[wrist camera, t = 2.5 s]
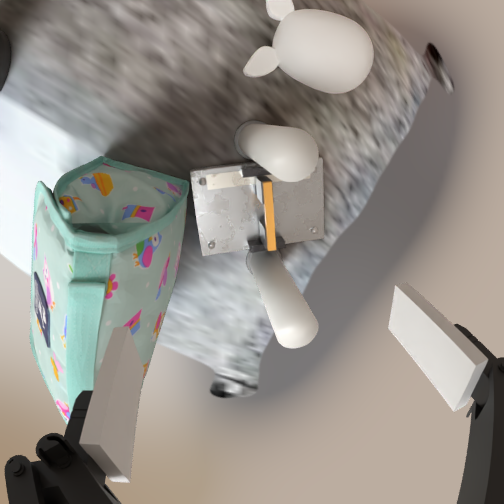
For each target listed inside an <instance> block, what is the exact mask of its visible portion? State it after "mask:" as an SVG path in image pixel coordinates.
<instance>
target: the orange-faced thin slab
mask: <svg viewBox="0 0 504 504" xmlns="http://www.w3.org/2000/svg"><path fill="white" fill-rule="evenodd" d="M255 178H256V190H257V198H258V199H259V200H260V202H261V203H262V204H264V212H265V219H264V220H259V226H260V239H261V241H262V243H263V245H264V247H265V249H268V251H273V250H276V248H277V247H276V230H275V223H274V207H273V203H274V199H273V184H272V180H271V179H269V178H268V177H267V176H258V177H255Z"/></svg>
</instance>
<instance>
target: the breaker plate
mask: <svg viewBox="0 0 504 504" xmlns="http://www.w3.org/2000/svg"><path fill="white" fill-rule="evenodd" d="M190 176H191V184H192V191H193V198H194V205H195V212H196V219H197V225H198V232H199V238H200V245H201V251H202V256H206V255H213V254H220V253H227V252H233V251H240V250H247V249H248V250H249V252H250V253H254V252H261V251H268V249H265V247H264V245H263V243H262V241H261V239H260V226H259V220H264V219H265V212H264V204H262V203H261V202H260V200H259V199H258V198H257V190H256V178H255V177H258V176H267V177H268V178H269V179H271V180H272V184H273V199H274V203H273V207H274V223H275V230H276V247H277V248H276V249H281V248H286V247H285V244H288V243H295V242H302V241H309V240H316V239H322V238H324V188H323V158H321V157H318V162H317V165H316V167H315V169H314V170H313V172H312V173H311V174H310V175H309V176H308V177H306V178H305V179H303V180H300V181H297V182H286V181H282V180H280V179H278V178H277V177H275V176H274V175H273V174H271V173H270V172H269V171H267V170H266V169H265V168H263V167H262V166H260V165H259V164H258V163H256V162H245V163H237V164H228V165H220V166H213V167H205V168H198V169H191V170H190Z"/></svg>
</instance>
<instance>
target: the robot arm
mask: <svg viewBox="0 0 504 504" xmlns="http://www.w3.org/2000/svg"><path fill="white" fill-rule="evenodd" d="M10 57H11V50H10V43H9V40H8V37H7V36H6V34H5V33H4V32H3V31H2V30H0V90H1V88H2V86H3V84H4V82H5V79H6V76H7V73H8V70H9V65H10ZM388 329H389V330H390V331H391V332H392V334H393V335H394V336H395V337H396V338H397V340H398V341H399V342H400V343H401V345H402V346H403V347H404V348H405V349H406V351H407V352H408V353H409V355H410V356H411V357H412V358H413V359H414V361H415V362H416V363H417V365H418V366H419V367H420V368H421V370H422V371H423V372H424V373H425V375H426V376H427V377H428V378H429V380H430V381H431V383H432V384H433V385H434V386H435V388H436V389H437V390H438V392H439V393H440V394H441V396H442V397H443V398H444V400H445V401H446V402H447V403H448V405H449V406H450V408H451V409H452V410H453V411H456V410H458V409H460V408H462V407H464V406H465V405H466V404H467V403H468V401H469V399H470V397H472V398H473V399H474V400H475V401H474V402H473V404H472V406H471V408H470V410H469V411H468V413H467V416H466V417H469V415H470V413H471V412H472V415H471V426H470V434H469V443H468V449H467V456H466V462H465V468H464V473H463V479H462V483H461V488H460V492H459V497H458V501H457V504H504V358H498V359H497V358H496V357H495V356H494V355H493V354H492V353H491V352H490V351H489V350H488V349H487V348H486V347H485V346H484V345H483V344H482V343H481V342H479V341H478V339H477V338H476V337H474V336H473V335H472V334H471V333H470V332H469V331H468V330H467V329H466V328H464V327H462V326H461V325H459V324H455V325H453V324H452V323H451V322H450V321H449V320H448V319H447V318H446V317H444V315H443V314H441V313H440V312H439V311H438V310H437V309H436V308H435V307H434V306H433V305H432V304H431V303H430V302H428V301H427V300H426V299H425V298H424V297H423V296H422V295H421V294H420V293H419V292H417V291H416V290H415V289H414V288H413V287H412V286H411V285H409V284H408V283H402V284H398V285H395V291H394V298H393V304H392V310H391V316H390V322H389V327H388ZM143 375H144V367H143V364H142V362H141V359H140V356H139V354H138V351H137V348H136V346H135V343H134V340H133V337H132V334H131V331H130V329H129V326H126V327H115V328H114V329H113V331H112V334H111V337H110V340H109V343H108V346H107V349H106V352H105V355H104V358H103V361H102V364H101V367H100V370H99V373H98V377H97V380H96V383H95V386H94V390H82V392H81V393H80V394H79V395H78V397H77V398H76V399H75V402H74V405H73V408H72V409H73V411H72V412H71V415H70V419H69V421H68V425H67V428H66V431H65V435H64V437H63V436H62V435H60V434H58V433H50V434H47V435H45V436H43V437H42V438H41V439H40V440H39V442H38V443H37V446H36V454H37V456H38V457H39V458H40V459H41V461H35V462H30V461H29V460H28V459H27V458H26V457H25V456H22V455H16V456H13V457H12V458H10V459H9V460H8V461H7V464H6V466H5V479H6V487H7V493H8V499H9V504H121V503H120V501H119V500H118V499H117V498H116V497H115V495H114V494H113V493H112V491H111V490H110V489H109V487H108V486H107V485H106V484H105V478H106V476H107V477H108V478H109V479H110V480H111V481H113V482H130V478H131V468H132V457H133V448H134V439H135V431H136V422H137V414H138V408H139V401H140V394H141V388H142V381H143Z"/></svg>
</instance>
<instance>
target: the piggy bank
mask: <svg viewBox="0 0 504 504" xmlns="http://www.w3.org/2000/svg"><path fill="white" fill-rule="evenodd" d="M266 8H267V12H268V14H269V16H270V17H271V18H273V19H275V20H279V21H281V22H280V24H279V25H278V27H277V30H276V32H275V35H274V38H273V43H272V47H269V46H263V47H261V48H259V49H258V50H257V51H256V52H255V53H254V54H253V55H252V56H251V58H250V59H249V61H248V62H247V64H246V65H245V67H244V68H243V73H244V74H245V75H246V76H248V77H253V78H255V77H261V76H264V75H267V74H269V73H270V72H272V71H273V70H275V69H276V68H277V66H279V67H280V68H281V69H282V70H283V71H284V72H285V73H286V74H288V75H289V76H291V77H292V78H294V79H295V80H297V81H299V82H301V83H303V84H305V85H307V86H309V87H311V88H313V89H316V90H319V91H322V92H326V93H332V94H339V93H345V92H348V91H351V90H353V89H354V88H356V87H357V86H359V85H360V84H361V83H362V82H363V81H364V80H365V79H366V77H367V76H368V74H369V72H370V70H371V67H372V64H373V58H374V50H373V45H372V41H371V39H370V37H369V35H368V34H367V32H366V31H365V30H364V29H363V28H362V27H361V26H360V25H359V24H358V23H356V22H355V21H353V20H351V19H349V18H347V17H345V16H342V15H339V14H336V13H333V12H329V11H324V10H317V9H301V10H296V11H295V10H294V4H293V2H292V0H266Z"/></svg>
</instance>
